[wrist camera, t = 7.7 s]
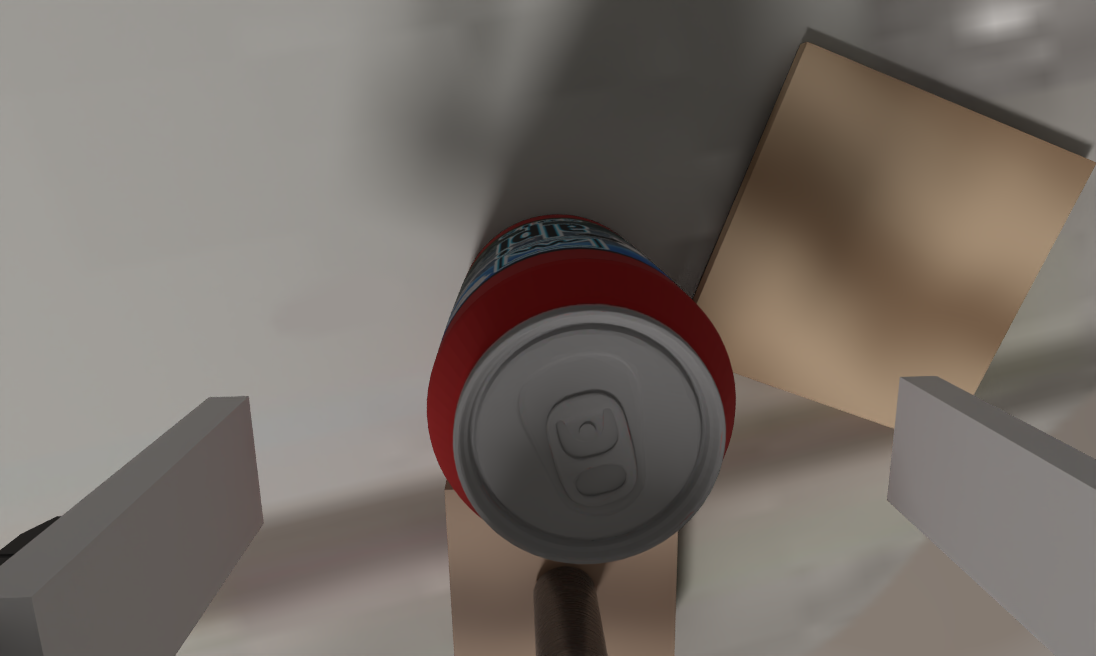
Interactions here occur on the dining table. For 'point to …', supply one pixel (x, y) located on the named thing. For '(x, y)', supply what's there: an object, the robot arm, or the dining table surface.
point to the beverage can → (578, 394)
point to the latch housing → (510, 577)
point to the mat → (880, 238)
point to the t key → (567, 614)
